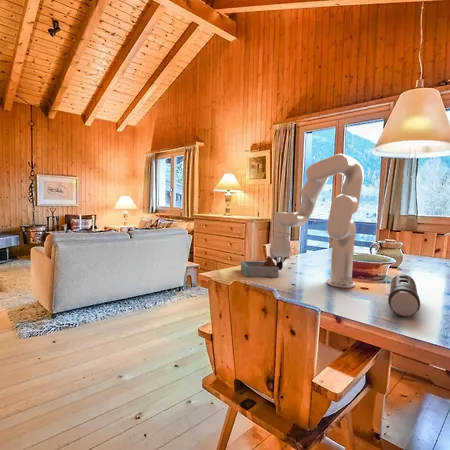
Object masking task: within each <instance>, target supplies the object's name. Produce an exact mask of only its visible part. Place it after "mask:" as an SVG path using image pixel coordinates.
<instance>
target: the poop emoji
mask: <svg viewBox="0 0 450 450" xmlns="http://www.w3.org/2000/svg"><path fill="white" fill-rule="evenodd" d="M264 261H265V262H264V264H263V265H262V267H277V266H276V264H275V263H276V262H274V259H272V258H271V257H270V255H268V256H267V257H266V260H264Z"/></svg>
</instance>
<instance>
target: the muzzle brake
mask: <svg viewBox="0 0 450 450" xmlns="http://www.w3.org/2000/svg"><path fill="white" fill-rule="evenodd" d="M390 282H391V283H390V289H389V294H388V299H387V301H388V305H389V308H390V310H391V311H393V313H395V314H397V315H399V316H401V317H411V316H413V315H415V314H417V313H418V312H419V310H420V307H421V300H420V296H419V293H418V289H417V285H416V282H415V280H414V279H413V278H412V277H411V276H409V275H408V274H402V273H401V274H397V275H395V276H394V277H393V278H392V279H391V281H390Z"/></svg>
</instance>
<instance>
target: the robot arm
mask: <svg viewBox="0 0 450 450" xmlns="http://www.w3.org/2000/svg"><path fill="white" fill-rule="evenodd" d="M339 174H340V175H341V176H343V182H342V185H341V190H340V194H338V195H337V196H336V197H334V198H333V200H332V202H331V205H330V211H329V216H328V220H327V227H326V229H327V230H326V231H327V233H328V235H329V236H330V238H331V239H332V245H331V255H330V256H331V259H330V261H331V262H330V273H329V274H330V275H329V278H328V279H326V284H327V285H330V286H332V287H336V288H342V289H343V288H344V289H346V288H347V289H351V288H354V287H356V283H355V281H353V265H354V264H353V262H354V251H355V250H354V249H355V240H356V236H357V235H356V233H357V225H356V224H355V221H354V220H353V219H352V216H353V214H355V213H357V211H358V210H359V206H360V201H361V196H362V195H361V194H362V188H363V184H364V178H365V177H364V176H365V175H364V174H365V173H364V169H363V166H362V164H360V162H359V161H357V160H356V159H354V158H353V157H351V156H349V155H346V154H343V153H337V154H336V153H335V154H333V155H331V156H328V157H326V158H324V159H321V160H319V161H316V162H314V163H311V164H310V165H309V166H308V167H307V169H306V171H305V176H306V179H307V180H306V181H305V183H304V185H303V187H302V189H301V190H300V195H301V202H300V206H299V208H298V209H297V211H294V212H287V211H277V212H274V215H273V237H271V239H270V247H269V257H271V258H272V260H273V261H275V263H276V264H275V265H276V266H277V267H279V271H282V270H283V267H284V264H283V263H284V261H286V260H288V259H291V242H290V238H289V237H290V236H291V235H292V233H291V232H290V233H289V228H296V227H303V226H304V225H305V224H307V222H308V221H309V220H310V217H311V215H312V213H313V212H314V209H315V207H316V201H317V199H318V198H319V196H320V193H321V192H322V190H323V189H324V187H325V185H326V184H327V182H328V180H329V178H330V177H332V176H335V175H339Z"/></svg>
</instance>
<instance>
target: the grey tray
mask: <svg viewBox="0 0 450 450" xmlns="http://www.w3.org/2000/svg"><path fill="white" fill-rule="evenodd" d="M265 261H266V260H261V261H260V260H241V261H240V271H241V272H242V274H243V275H244V277H245V278H279V272H280V270H279V267H262V265H263V264H264V262H265Z"/></svg>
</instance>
